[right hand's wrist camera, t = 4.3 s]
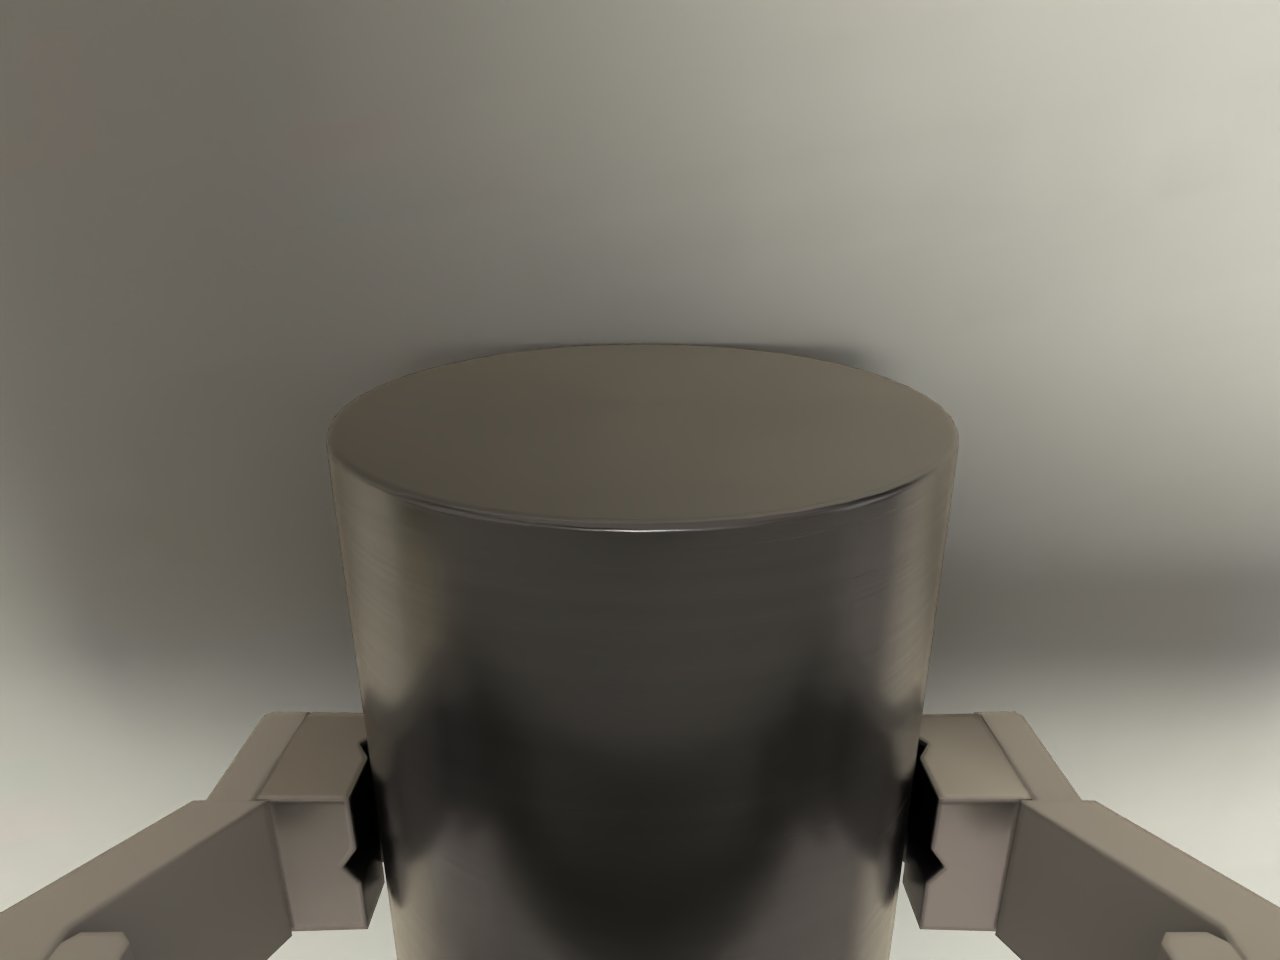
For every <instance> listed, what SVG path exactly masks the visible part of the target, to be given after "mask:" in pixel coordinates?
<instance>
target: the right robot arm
mask: <svg viewBox="0 0 1280 960" xmlns="http://www.w3.org/2000/svg"><path fill="white" fill-rule="evenodd" d="M902 861H903V862H905V867H904V875H903V885H904V887H905V890H906V893H907V895H908V898H909V901H910V903H911V906H912V909H913V911H914V914H915V917H916V919H917V922H918V925H919V927H920V929H937V930H972V931H996V934H995V935H996V936H997V937H998V938H999V939H1000V940H1001V941H1002V942H1003V943H1004V944H1006V945H1007V946H1008V947H1009V948H1010V949H1011V950H1012V951H1013V952H1014V953H1015V954H1016V955H1017V956H1018V957H1019V958H1020V959H1021V960H1280V907H1278V906H1276V905H1274V904H1273V903H1271V902H1269V901H1268V900H1266V899H1264V898H1262V897H1261V896H1259V895H1257V894H1255V893H1254V892H1252V891H1250V890H1249V889H1247V888H1245V887H1243V886H1242V885H1240V884H1238V883H1236V882H1235V881H1233V880H1231V879H1230V878H1228V877H1226V876H1224V875H1223V874H1221V873H1219V872H1217V871H1216V870H1214V869H1212V868H1211V867H1209V866H1207V865H1205V864H1204V863H1202V862H1200V861H1198V860H1197V859H1195V858H1193V857H1191V856H1190V855H1188V854H1186V853H1185V852H1183V851H1181V850H1179V849H1178V848H1176V847H1174V846H1172V845H1171V844H1169V843H1167V842H1166V841H1164V840H1162V839H1160V838H1159V837H1157V836H1155V835H1153V834H1152V833H1150V832H1148V831H1147V830H1145V829H1143V828H1141V827H1140V826H1138V825H1136V824H1134V823H1133V822H1131V821H1129V820H1128V819H1126V818H1124V817H1122V816H1121V815H1119V814H1117V813H1115V812H1114V811H1112V810H1110V809H1109V808H1107V807H1105V806H1103V805H1102V804H1100V803H1098V802H1096V801H1082V800H1081V798H1080V797H1079V795H1078V794H1077V792H1076V791H1075V790H1074V788H1073V787H1072V785H1071V784H1070V783H1069V781H1068V780H1067V778H1066V777H1065V775H1064V774H1063V773H1062V771H1061V770H1060V768H1059V767H1058V765H1057V764H1056V763H1055V761H1054V760H1053V758H1052V757H1051V755H1050V754H1049V753H1048V751H1047V750H1046V748H1045V747H1044V746H1043V744H1042V743H1041V741H1040V740H1039V738H1038V737H1037V736H1036V734H1035V733H1034V731H1033V730H1032V728H1031V727H1030V726H1029V724H1028V723H1027V721H1026V720H1025V719H1024V717H1023V716H1022V715H1020V714H1019V713H1017V712H1015V711H1011V712H979V713H974V714H922V719H921V726H920V734H919V741H918V748H917V756H916V763H915V770H914V778H913V785H912V793H911V800H910V807H909V815H908V822H907V830H906V837H905V844H904V852H903V859H902ZM382 862H384V859H383V852H382V844H381V837H380V830H379V823H378V815H377V808H376V801H375V794H374V786H373V779H372V772H371V765H370V757H369V750H368V743H367V736H366V728H365V721H364V714H363V713H335V712H313V713H309V712H272V713H270V714H267V715H265V716H264V717H263V718H262V719H261V721H260V722H259V724H258V725H257V727H256V728H255V729H254V731H253V732H252V734H251V735H250V737H249V738H248V740H247V741H246V743H245V744H244V746H243V747H242V748H241V750H240V751H239V753H238V754H237V756H236V757H235V759H234V760H233V762H232V763H231V765H230V766H229V767H228V769H227V770H226V772H225V773H224V775H223V776H222V778H221V779H220V781H219V782H218V784H217V785H216V786H215V788H214V789H213V791H212V792H211V794H210V795H209V797H208V798H207V800H206V801H192V802H190V803H188V804H187V805H185V806H183V807H181V808H180V809H178V810H176V811H175V812H173V813H171V814H169V815H168V816H166V817H164V818H162V819H161V820H159V821H157V822H156V823H154V824H152V825H150V826H149V827H147V828H145V829H144V830H142V831H140V832H138V833H137V834H135V835H133V836H132V837H130V838H128V839H126V840H125V841H123V842H121V843H120V844H118V845H116V846H114V847H113V848H111V849H109V850H107V851H106V852H104V853H102V854H101V855H99V856H97V857H95V858H94V859H92V860H90V861H89V862H87V863H85V864H83V865H82V866H80V867H78V868H77V869H75V870H73V871H71V872H70V873H68V874H66V875H64V876H63V877H61V878H59V879H58V880H56V881H54V882H52V883H51V884H49V885H47V886H46V887H44V888H42V889H40V890H39V891H37V892H35V893H34V894H32V895H30V896H28V897H27V898H25V899H23V900H21V901H20V902H18V903H16V904H15V905H13V906H11V907H9V908H8V909H6V910H4V911H3V912H1V913H0V960H267V959H268V958H269V957H270V956H271V955H272V954H273V953H274V952H275V951H276V950H277V949H278V948H279V947H281V946H282V945H283V944H284V943H285V942H286V941H287V940H288V939H289V938H290V937H291V936H292V932H291V931H315V930H349V929H368V926H369V924H370V921H371V918H372V915H373V912H374V910H375V907H376V904H377V901H378V899H379V896H380V893H381V890H382V888H383V885H384V874H383V866H382Z"/></svg>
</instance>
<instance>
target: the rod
mask: <svg viewBox="0 0 1280 960" xmlns="http://www.w3.org/2000/svg"><path fill="white" fill-rule="evenodd" d="M327 452H328V460H329V467H330V474H331V481H332V489H333V496H334V503H335V510H336V518H337V525H338V532H339V539H340V547H341V554H342V561H343V568H344V576H345V583H346V590H347V598H348V605H349V612H350V619H351V627H352V634H353V641H354V648H355V656H356V663H357V670H358V677H359V685H360V692H361V699H362V706H363V714H364V721H365V728H366V736H367V743H368V750H369V757H370V765H371V772H372V779H373V786H374V794H375V801H376V808H377V815H378V823H379V830H380V837H381V844H382V852H383V859H384V866H385V874H386V881H387V888H388V895H389V903H390V910H391V917H392V924H393V932H394V939H395V946H396V953H397V960H889V955H890V948H891V940H892V933H893V926H894V918H895V911H896V903H897V896H898V889H899V881H900V874H901V867H902V859H903V852H904V844H905V837H906V830H907V822H908V815H909V807H910V800H911V793H912V785H913V778H914V770H915V763H916V756H917V748H918V741H919V734H920V726H921V719H922V711H923V704H924V697H925V689H926V682H927V674H928V667H929V660H930V652H931V645H932V637H933V630H934V623H935V615H936V608H937V600H938V593H939V586H940V578H941V571H942V564H943V556H944V549H945V541H946V534H947V527H948V519H949V512H950V504H951V497H952V490H953V482H954V475H955V467H956V460H957V453H958V432H957V429H956V427H955V425H954V422H953V420H952V418H951V416H950V415H949V414H948V413H947V412H946V411H945V410H944V409H943V408H942V407H941V406H940V405H939V404H937V403H936V402H934V401H933V400H931V399H930V398H929V397H927V396H926V395H924V394H922V393H920V392H918V391H916V390H914V389H912V388H910V387H908V386H906V385H903V384H901V383H898V382H896V381H893V380H891V379H888V378H886V377H883V376H880V375H876V374H873V373H870V372H867V371H864V370H860V369H857V368H853V367H849V366H845V365H841V364H837V363H832V362H827V361H822V360H817V359H813V358H807V357H801V356H795V355H789V354H782V353H774V352H766V351H759V350H748V349H738V348H727V347H712V346H695V345H664V344H625V345H593V346H576V347H561V348H550V349H540V350H529V351H522V352H514V353H506V354H499V355H493V356H487V357H481V358H475V359H470V360H465V361H460V362H456V363H451V364H446V365H443V366H439V367H435V368H431V369H427V370H423V371H420V372H417V373H414V374H411V375H408V376H404V377H401V378H399V379H396V380H394V381H391V382H389V383H386V384H384V385H381V386H379V387H377V388H375V389H373V390H371V391H369V392H367V393H365V394H363V395H361V396H359V397H358V398H356V399H355V400H353V401H352V402H351V403H349V404H348V405H346V406H345V407H344V408H343V409H342V410H341V411H340V412H339V413H338V414H337V415H336V416H335V418H334V420H333V422H332V424H331V426H330V428H329V430H328V433H327Z"/></svg>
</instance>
